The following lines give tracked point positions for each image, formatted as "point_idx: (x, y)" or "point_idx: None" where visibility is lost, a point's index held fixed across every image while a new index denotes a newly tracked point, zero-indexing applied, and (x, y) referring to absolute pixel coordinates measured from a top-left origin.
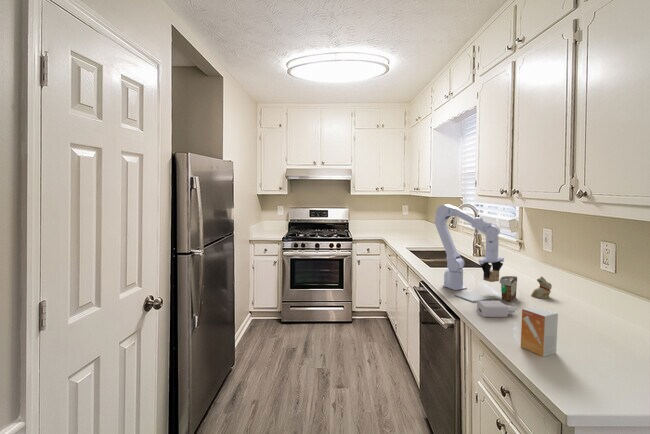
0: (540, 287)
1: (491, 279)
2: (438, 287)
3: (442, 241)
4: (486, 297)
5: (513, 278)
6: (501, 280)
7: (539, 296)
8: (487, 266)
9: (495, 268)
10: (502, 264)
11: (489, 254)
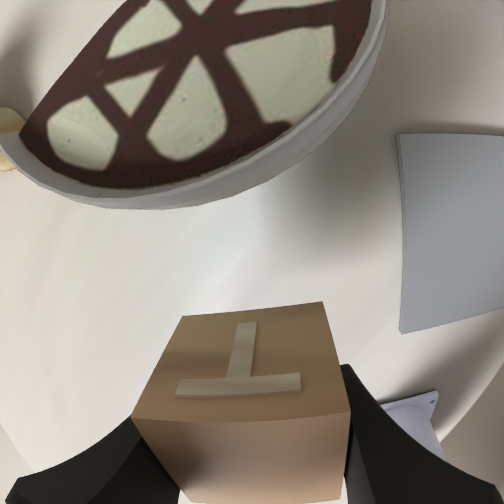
0: None
1: (325, 322)
2: (447, 432)
3: None
4: (417, 168)
5: (49, 136)
6: (386, 27)
7: (14, 112)
8: (493, 489)
9: (153, 488)
10: (20, 488)
11: None
